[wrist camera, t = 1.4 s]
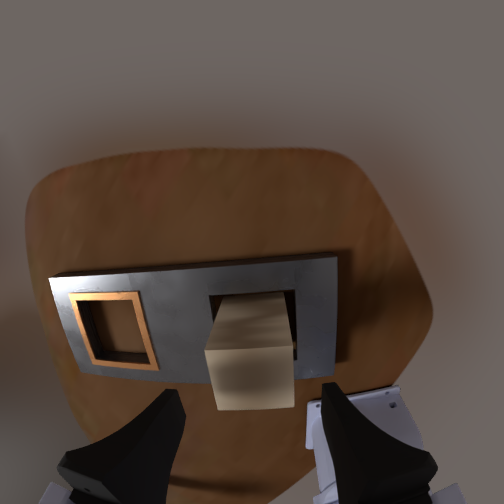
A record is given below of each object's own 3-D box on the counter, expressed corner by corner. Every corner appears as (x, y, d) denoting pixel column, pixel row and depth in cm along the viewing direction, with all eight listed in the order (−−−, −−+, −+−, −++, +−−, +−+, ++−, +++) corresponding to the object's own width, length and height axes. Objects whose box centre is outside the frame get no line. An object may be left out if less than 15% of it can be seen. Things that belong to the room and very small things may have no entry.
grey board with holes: (332, 251, 20) (338, 257, 18) (330, 364, 22) (334, 376, 20) (58, 273, 21) (47, 278, 19) (87, 364, 23) (80, 372, 22)
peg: (283, 291, 21) (292, 345, 13) (286, 342, 22) (294, 406, 14) (223, 296, 21) (204, 350, 14) (231, 346, 22) (218, 410, 14)
